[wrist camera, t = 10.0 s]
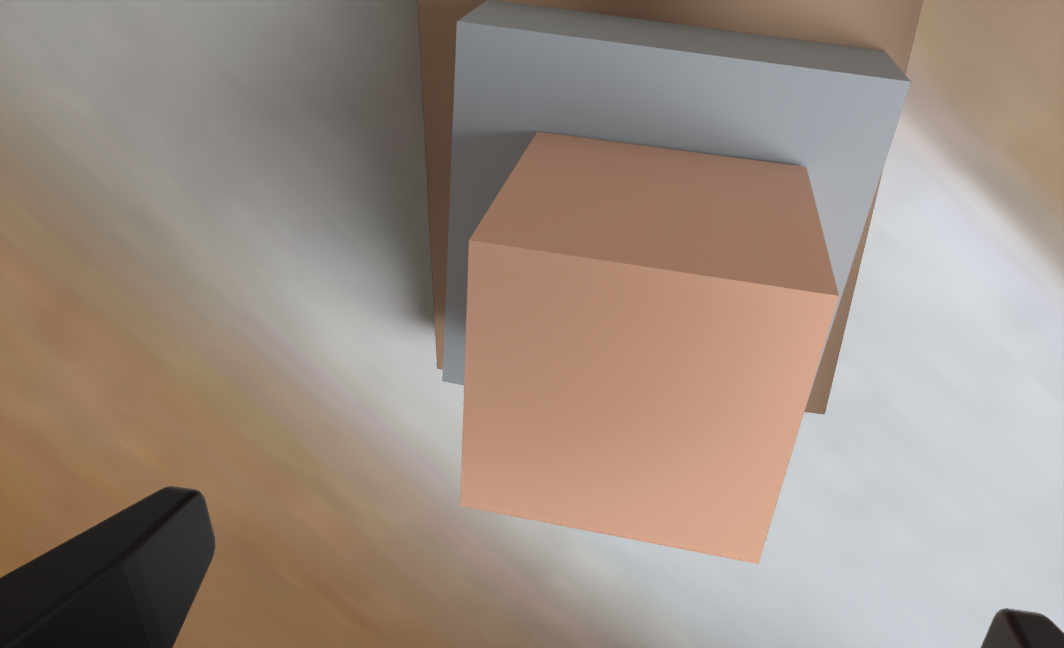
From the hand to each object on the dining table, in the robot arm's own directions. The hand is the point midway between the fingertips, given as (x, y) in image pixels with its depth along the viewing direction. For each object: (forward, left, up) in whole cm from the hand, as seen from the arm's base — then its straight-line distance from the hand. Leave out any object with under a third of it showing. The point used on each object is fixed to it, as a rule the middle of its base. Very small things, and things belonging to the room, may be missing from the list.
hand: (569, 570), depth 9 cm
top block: (0, 0, -11) cm, 11 cm away
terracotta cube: (0, 0, -8) cm, 9 cm away
